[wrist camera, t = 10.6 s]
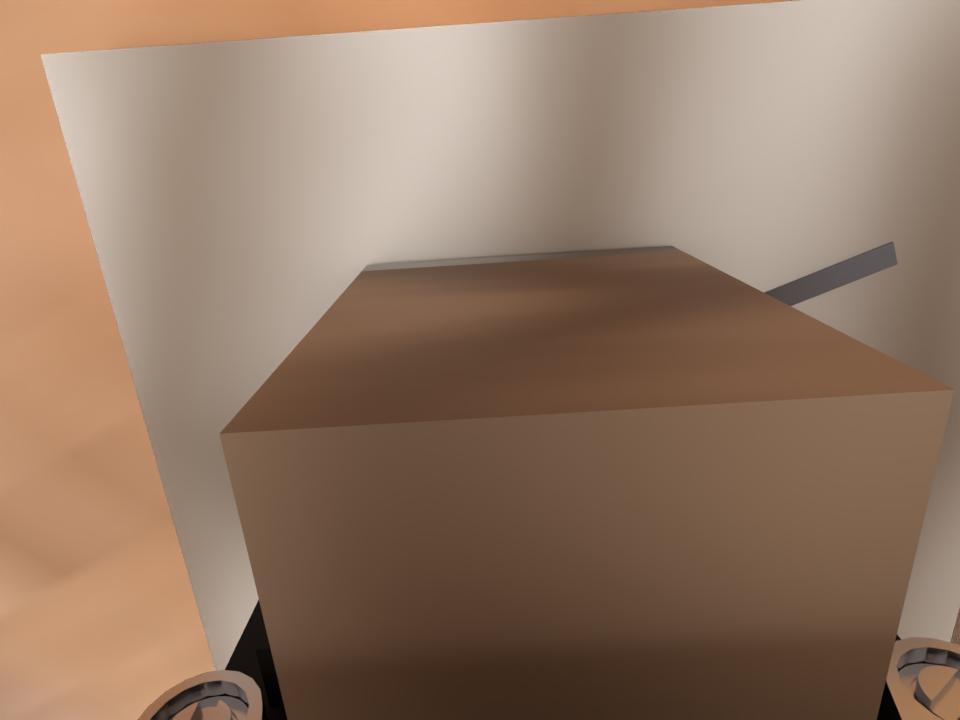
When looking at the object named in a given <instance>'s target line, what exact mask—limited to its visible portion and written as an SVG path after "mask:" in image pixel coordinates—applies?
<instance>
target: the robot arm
mask: <svg viewBox="0 0 960 720" xmlns="http://www.w3.org/2000/svg"><path fill="white" fill-rule="evenodd" d="M138 720H287V715H286V711H285V707H284V703H283V699H282V694H281V690H280V686H279V682H278V678H277V673H276V669H275V665H274V661H273V657H272V653H271V648H270V644H269V640H268V636H267V632H266V627H265V623H264V619H263V615H262V611H261V606H260V602H259V600H258V602H257V604H256V606H255V608H254V610H253V612H252V614H251V616H250V618H249V621H248V623H247V625H246V627H245V629H244V631H243V633H242V635H241V637H240V639H239V641H238V643H237V645H236V647H235V649H234V651H233V654H232V656H231V658H230V660H229V662H228V664H227V666H226V668H225V670H219V671H213V672H206V673H203V674H200V675H197V676H195V677H192V678H189V679H186V680H184V681H183V682H181V683H179V684H178V685H176V686H174V687H172V688H171V689H169V690H167V691H166V692H165V693H163V694H162V695H161V696H160V697H159V698H158V699H156V700H155V701H154V702H153V703H152V704H151V705H149V706H148V707H147V709H146V710H145V711H144V712H143V714H142V715H141V716H140V717H139V719H138ZM877 720H960V645H958V644H955V643H951V642H947V641H942V640H938V639H934V638H919V637H911V638H906V639H901V638H900V637H899V636H898V635H897V636H896V640H895V644H894V648H893V653H892V657H891V661H890V665H889V670H888V674H887V678H886V682H885V686H884V691H883V695H882V699H881V703H880V708H879V712H878V716H877Z"/></svg>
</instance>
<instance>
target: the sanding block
mask: <svg viewBox="0 0 960 720" xmlns="http://www.w3.org/2000/svg"><path fill="white" fill-rule="evenodd" d="M953 395H954V389H952V388H950V387H948V386H946V385H944V384H942V383H940V382H938V381H936V380H935V379H933V378H931V377H929V376H927V375H925V374H923V373H921V372H919V371H917V370H915V369H913V368H911V367H909V366H907V365H905V364H903V363H901V362H899V361H897V360H895V359H893V358H891V357H889V356H887V355H885V354H883V353H881V352H880V351H878V350H876V349H874V348H872V347H870V346H868V345H866V344H864V343H862V342H860V341H858V340H856V339H854V338H852V337H850V336H848V335H846V334H844V333H842V332H840V331H838V330H836V329H834V328H832V327H830V326H828V325H826V324H825V323H823V322H821V321H819V320H817V319H815V318H813V317H811V316H809V315H807V314H805V313H803V312H801V311H799V310H797V309H795V308H793V307H791V306H789V305H787V304H785V303H783V302H781V301H779V300H777V299H775V298H773V297H772V296H770V295H768V294H766V293H764V292H762V291H760V290H758V289H756V288H754V287H752V286H750V285H748V284H746V283H744V282H742V281H740V280H738V279H736V278H734V277H732V276H730V275H728V274H726V273H724V272H722V271H720V270H718V269H717V268H715V267H713V266H711V265H709V264H707V263H705V262H703V261H701V260H699V259H697V258H695V257H693V256H691V255H689V254H687V253H685V252H683V251H681V250H679V249H677V248H675V247H673V246H662V247H646V248H630V249H614V250H598V251H582V252H566V253H550V254H534V255H518V256H502V257H486V258H470V259H454V260H438V261H423V262H407V263H391V264H375V265H367V266H366V267H365V268H364V269H363V270H362V271H361V273H360V274H359V275H358V276H357V277H356V278H355V279H354V281H353V282H352V283H351V284H350V285H349V286H348V287H347V289H346V290H345V291H344V292H343V293H342V294H341V295H340V297H339V298H338V299H337V300H336V301H335V302H334V303H333V305H332V306H331V307H330V308H329V309H328V310H327V311H326V313H325V314H324V315H323V316H322V317H321V318H320V319H319V321H318V322H317V323H316V324H315V325H314V326H313V327H312V329H311V330H310V331H309V332H308V333H307V334H306V335H305V337H304V338H303V339H302V340H301V341H300V342H299V343H298V345H297V346H296V347H295V348H294V349H293V350H292V351H291V353H290V354H289V355H288V356H287V357H286V358H285V359H284V361H283V362H282V363H281V364H280V365H279V366H278V367H277V369H276V370H275V371H274V372H273V373H272V374H271V375H270V377H269V378H268V379H267V380H266V381H265V382H264V383H263V385H262V386H261V387H260V388H259V389H258V390H257V391H256V393H255V394H254V395H253V396H252V397H251V398H250V399H249V401H248V402H247V403H246V404H245V405H244V406H243V407H242V409H241V410H240V411H239V412H238V413H237V414H236V415H235V417H234V418H233V419H232V420H231V421H230V422H229V423H228V425H227V426H226V427H225V428H224V429H223V430H222V431H221V433H220V439H221V443H222V447H223V451H224V455H225V460H226V464H227V468H228V472H229V476H230V481H231V485H232V489H233V493H234V497H235V501H236V506H237V510H238V514H239V518H240V522H241V527H242V531H243V535H244V539H245V543H246V548H247V552H248V556H249V560H250V564H251V569H252V573H253V577H254V581H255V585H256V590H257V594H258V598H259V602H260V606H261V611H262V615H263V619H264V623H265V627H266V632H267V636H268V640H269V644H270V648H271V653H272V657H273V661H274V665H275V669H276V673H277V678H278V682H279V686H280V690H281V694H282V699H283V703H284V707H285V711H286V715H287V720H877V716H878V712H879V708H880V703H881V699H882V695H883V691H884V686H885V682H886V678H887V674H888V670H889V665H890V661H891V657H892V653H893V648H894V644H895V640H896V636H897V632H898V627H899V623H900V619H901V615H902V610H903V606H904V602H905V598H906V593H907V589H908V585H909V581H910V577H911V572H912V568H913V564H914V560H915V555H916V551H917V547H918V543H919V538H920V534H921V530H922V526H923V522H924V517H925V513H926V509H927V505H928V500H929V496H930V492H931V488H932V483H933V479H934V475H935V471H936V467H937V462H938V458H939V454H940V450H941V445H942V441H943V437H944V433H945V428H946V424H947V420H948V416H949V412H950V407H951V403H952V399H953Z"/></svg>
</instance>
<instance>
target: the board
mask: <svg viewBox="0 0 960 720" xmlns="http://www.w3.org/2000/svg"><path fill="white" fill-rule="evenodd" d="M40 55H41V59H42V62H43V66H44V69H45V73H46V76H47V80H48V83H49V87H50V90H51V94H52V97H53V101H54V104H55V108H56V111H57V115H58V118H59V122H60V125H61V129H62V132H63V136H64V139H65V143H66V146H67V150H68V153H69V157H70V160H71V164H72V167H73V171H74V174H75V178H76V181H77V185H78V188H79V192H80V195H81V199H82V203H83V206H84V210H85V213H86V217H87V220H88V224H89V227H90V231H91V234H92V238H93V241H94V245H95V248H96V252H97V255H98V259H99V262H100V266H101V269H102V273H103V276H104V280H105V283H106V287H107V290H108V294H109V297H110V301H111V304H112V308H113V311H114V315H115V318H116V322H117V325H118V329H119V332H120V336H121V339H122V343H123V346H124V350H125V353H126V357H127V360H128V364H129V368H130V371H131V375H132V378H133V382H134V385H135V389H136V392H137V396H138V399H139V403H140V406H141V410H142V413H143V417H144V420H145V424H146V427H147V431H148V434H149V438H150V441H151V445H152V448H153V452H154V455H155V459H156V462H157V466H158V469H159V473H160V476H161V480H162V483H163V487H164V490H165V494H166V497H167V501H168V504H169V508H170V511H171V515H172V518H173V522H174V525H175V529H176V533H177V536H178V540H179V543H180V547H181V550H182V554H183V557H184V561H185V564H186V568H187V571H188V575H189V578H190V582H191V585H192V589H193V592H194V596H195V599H196V603H197V606H198V610H199V613H200V617H201V620H202V624H203V627H204V631H205V634H206V638H207V641H208V645H209V648H210V652H211V655H212V659H213V662H214V666H215V669H216V671H219V670H225V668H226V666H227V664H228V662H229V660H230V658H231V656H232V654H233V651H234V649H235V647H236V645H237V643H238V641H239V639H240V637H241V635H242V633H243V631H244V629H245V627H246V625H247V623H248V621H249V618H250V616H251V614H252V612H253V610H254V608H255V606H256V604H257V602H258V600H259V598H258V594H257V590H256V585H255V581H254V577H253V573H252V569H251V564H250V560H249V556H248V552H247V548H246V543H245V539H244V535H243V531H242V527H241V522H240V518H239V514H238V510H237V506H236V501H235V497H234V493H233V489H232V485H231V481H230V476H229V472H228V468H227V464H226V460H225V455H224V451H223V447H222V443H221V439H220V433H221V431H222V430H223V429H224V428H225V427H226V426H227V425H228V423H229V422H230V421H231V420H232V419H233V418H234V417H235V415H236V414H237V413H238V412H239V411H240V410H241V409H242V407H243V406H244V405H245V404H246V403H247V402H248V401H249V399H250V398H251V397H252V396H253V395H254V394H255V393H256V391H257V390H258V389H259V388H260V387H261V386H262V385H263V383H264V382H265V381H266V380H267V379H268V378H269V377H270V375H271V374H272V373H273V372H274V371H275V370H276V369H277V367H278V366H279V365H280V364H281V363H282V362H283V361H284V359H285V358H286V357H287V356H288V355H289V354H290V353H291V351H292V350H293V349H294V348H295V347H296V346H297V345H298V343H299V342H300V341H301V340H302V339H303V338H304V337H305V335H306V334H307V333H308V332H309V331H310V330H311V329H312V327H313V326H314V325H315V324H316V323H317V322H318V321H319V319H320V318H321V317H322V316H323V315H324V314H325V313H326V311H327V310H328V309H329V308H330V307H331V306H332V305H333V303H334V302H335V301H336V300H337V299H338V298H339V297H340V295H341V294H342V293H343V292H344V291H345V290H346V289H347V287H348V286H349V285H350V284H351V283H352V282H353V281H354V279H355V278H356V277H357V276H358V275H359V274H360V273H361V271H362V270H363V269H364V268H365V267H366V266H367V265H375V264H391V263H407V262H423V261H438V260H454V259H470V258H486V257H502V256H518V255H534V254H550V253H566V252H582V251H598V250H614V249H630V248H646V247H662V246H673V247H675V248H677V249H679V250H681V251H683V252H685V253H687V254H689V255H691V256H693V257H695V258H697V259H699V260H701V261H703V262H705V263H707V264H709V265H711V266H713V267H715V268H717V269H718V270H720V271H722V272H724V273H726V274H728V275H730V276H732V277H734V278H736V279H738V280H740V281H742V282H744V283H746V284H748V285H750V286H752V287H754V288H756V289H758V290H760V291H762V292H764V293H766V294H768V295H770V296H772V297H773V298H775V299H777V300H779V301H781V302H783V303H785V304H787V305H789V306H791V307H793V308H795V309H797V310H799V311H801V312H803V313H805V314H807V315H809V316H811V317H813V318H815V319H817V320H819V321H821V322H823V323H825V324H826V325H828V326H830V327H832V328H834V329H836V330H838V331H840V332H842V333H844V334H846V335H848V336H850V337H852V338H854V339H856V340H858V341H860V342H862V343H864V344H866V345H868V346H870V347H872V348H874V349H876V350H878V351H880V352H881V353H883V354H885V355H887V356H889V357H891V358H893V359H895V360H897V361H899V362H901V363H903V364H905V365H907V366H909V367H911V368H913V369H915V370H917V371H919V372H921V373H923V374H925V375H927V376H929V377H931V378H933V379H935V380H936V381H938V382H940V383H942V384H944V385H946V386H948V387H950V388H952V389H954V395H953V399H952V403H951V407H950V412H949V416H948V420H947V424H946V428H945V433H944V437H943V441H942V445H941V450H940V454H939V458H938V462H937V467H936V471H935V475H934V479H933V483H932V488H931V492H930V496H929V500H928V505H927V509H926V513H925V517H924V522H923V526H922V530H921V534H920V538H919V543H918V547H917V551H916V555H915V560H914V564H913V568H912V572H911V577H910V581H909V585H908V589H907V593H906V598H905V602H904V606H903V610H902V615H901V619H900V623H899V627H898V632H897V635H898V636H899V637H900V638H901V639H906V638H911V637H919V638H934V639H938V640H942V641H947V642H950V641H951V638H952V634H953V630H954V626H955V623H956V619H957V615H958V612H959V608H960V0H799V1H785V2H771V3H757V4H743V5H729V6H715V7H701V8H687V9H673V10H659V11H644V12H630V13H616V14H602V15H588V16H574V17H560V18H546V19H532V20H518V21H504V22H489V23H475V24H461V25H447V26H433V27H419V28H405V29H391V30H377V31H363V32H348V33H334V34H320V35H306V36H292V37H278V38H264V39H250V40H236V41H222V42H208V43H193V44H179V45H165V46H151V47H137V48H123V49H109V50H95V51H81V52H67V53H53V54H40Z"/></svg>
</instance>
